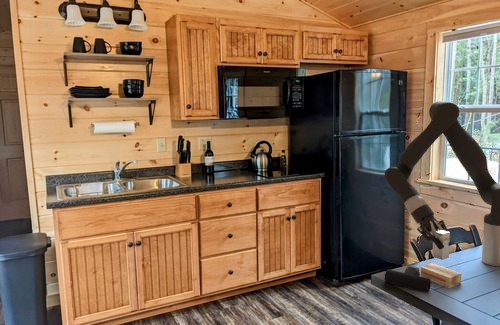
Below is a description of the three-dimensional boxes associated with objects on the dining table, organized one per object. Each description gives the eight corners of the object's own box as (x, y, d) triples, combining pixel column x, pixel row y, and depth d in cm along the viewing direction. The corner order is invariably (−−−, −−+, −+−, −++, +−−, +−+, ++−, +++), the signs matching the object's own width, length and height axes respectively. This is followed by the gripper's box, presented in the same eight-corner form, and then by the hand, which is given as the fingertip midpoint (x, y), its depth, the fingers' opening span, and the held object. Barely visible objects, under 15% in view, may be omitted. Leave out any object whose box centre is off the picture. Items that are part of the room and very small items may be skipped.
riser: (431, 272, 152) (432, 262, 152) (460, 283, 142) (461, 273, 141) (419, 276, 148) (420, 267, 148) (448, 288, 138) (449, 278, 138)
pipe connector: (394, 261, 152) (434, 269, 143) (394, 273, 153) (434, 282, 144) (384, 271, 143) (427, 281, 134) (384, 284, 144) (427, 295, 135)
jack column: (439, 254, 147) (440, 229, 145) (448, 257, 143) (449, 232, 142) (432, 256, 145) (433, 231, 143) (442, 259, 141) (443, 234, 140)
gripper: (413, 206, 144) (441, 246, 136) (436, 201, 151) (464, 238, 142) (401, 216, 150) (427, 255, 141) (424, 211, 157) (450, 248, 148)
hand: (445, 247), depth 142 cm, fingers closed on jack column, 4 cm apart
